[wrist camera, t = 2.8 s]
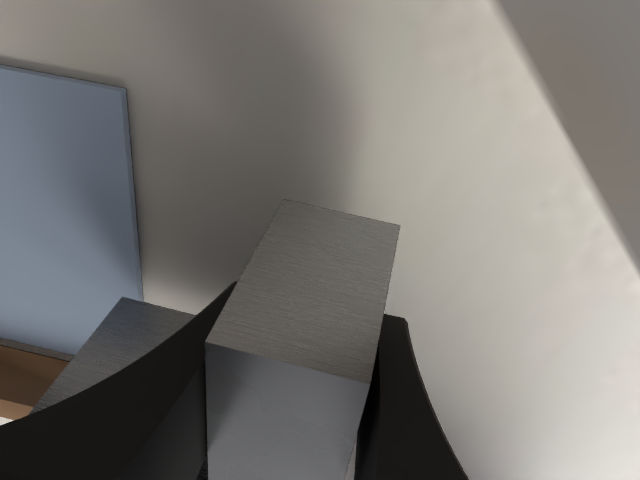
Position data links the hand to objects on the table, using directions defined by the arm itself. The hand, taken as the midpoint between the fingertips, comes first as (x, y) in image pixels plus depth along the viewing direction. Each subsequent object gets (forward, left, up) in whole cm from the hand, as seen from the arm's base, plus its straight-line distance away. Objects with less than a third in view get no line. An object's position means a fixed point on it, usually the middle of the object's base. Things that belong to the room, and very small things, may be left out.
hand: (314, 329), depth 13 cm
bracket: (-1, +2, -2) cm, 3 cm away
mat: (-2, +12, -4) cm, 13 cm away
